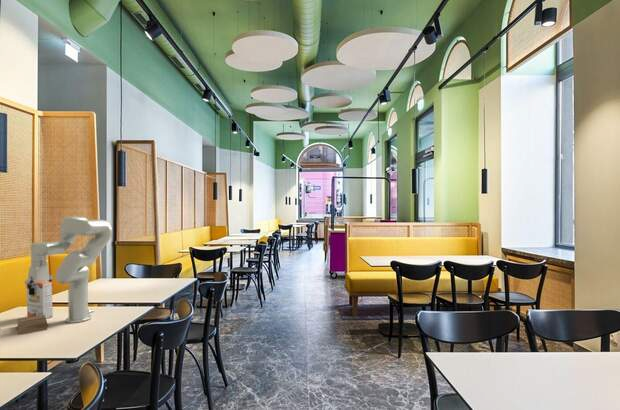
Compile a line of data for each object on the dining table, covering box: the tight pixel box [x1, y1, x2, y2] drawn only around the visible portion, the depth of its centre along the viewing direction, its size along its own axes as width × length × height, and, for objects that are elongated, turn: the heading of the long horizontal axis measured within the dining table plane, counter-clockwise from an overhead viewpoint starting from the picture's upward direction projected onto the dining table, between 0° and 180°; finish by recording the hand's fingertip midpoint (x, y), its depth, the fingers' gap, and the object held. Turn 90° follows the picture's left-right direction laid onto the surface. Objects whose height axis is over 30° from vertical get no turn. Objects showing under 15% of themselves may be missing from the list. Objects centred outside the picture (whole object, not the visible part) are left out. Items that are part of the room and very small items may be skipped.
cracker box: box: [26, 281, 54, 320], centre depth 226 cm, size 14×6×21 cm, turn 68°
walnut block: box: [17, 315, 48, 335], centre depth 206 cm, size 18×12×4 cm, turn 38°
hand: (39, 293), depth 226 cm, fingers open, 9 cm apart
